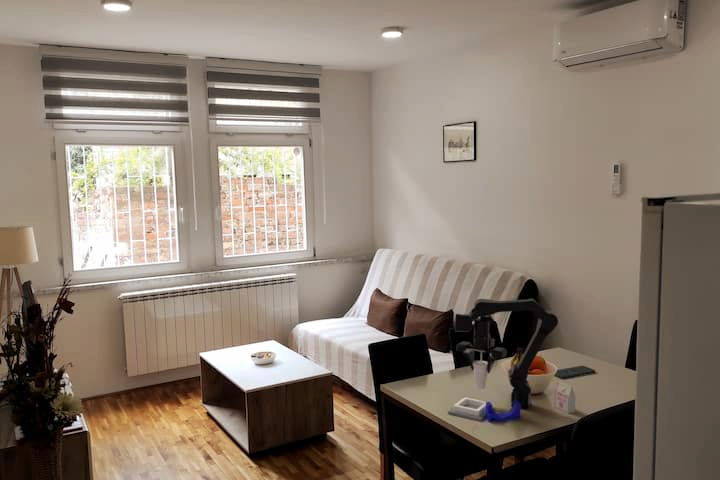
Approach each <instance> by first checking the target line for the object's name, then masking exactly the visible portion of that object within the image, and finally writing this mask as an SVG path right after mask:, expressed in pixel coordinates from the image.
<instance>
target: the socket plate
mask: <svg viewBox="0 0 720 480" xmlns="http://www.w3.org/2000/svg"><path fill="white" fill-rule="evenodd" d="M486 402H487V401H484V400H480V399H474V398H471V397H466V396H465V397H463V398H461V400H459V401H457V402H456V403H455V404H453V407H451V408H450V409H449V410H448V411H447V414H448V415H451V416H456V417H459V418H464V419H468V420H474V421H478V422H482V421H483V420H484V419H486ZM492 408H493V410H494V411H495V407H494V406H492Z"/></svg>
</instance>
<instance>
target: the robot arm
mask: <svg viewBox="0 0 720 480" xmlns="http://www.w3.org/2000/svg"><path fill="white" fill-rule="evenodd" d="M524 311H525V312H526V311H530V312H531V313H532V314H534V316H536V317H537V320H538V321H537V323H536V330H535V332H534V333H533V335H532V337H531V339H530V341H529V343H528V345H527V347H526V348H525V351H524V352H523V354H522V356H521V358H520V360H519V361H518V362H517V363H516V364H515V363H512V364H511V367H510V368H509V369H508V370H507V373H508V375H507V376H508V380H509V384H510V386H511V387H512V388H513V389H512V392H511V393H510V395H511V396H510V397H511V399H510V403H511V404H510V407H511V408H512V407H513V404H514V401H518V402H519V403H520V404H521V410H528V409H529V408H530V407H532V405H533V402H532V388H531V386H530V384H529V381H528V380H527V379H528V375H529V371H530V367H531V366H532V364H533V362H534V360H535V358H536V356H537V354H538V352H539V351H540V349H541V347H542V345H543V343H544V342H545V340H546V338H547V337H548V335H550V334H551V333H552V332H553V331H554V329H555V328H556V327H557V325H558V324H559V319H558V316H556V315H555V313H554V312H553V311H552V310H549V309H545V308H544V307H543V306H542V305H540V303H537V301H536V300H535V298H528V299H512V300H492V299H487V298H478V299H477V300H476V301H475V302H474V304H473V308H472V309H471V311H470V312H469V313H468V314H467V313H466V314H465V313H464V314H460V313H455V316H454V317H455V320H454V332H458V333H459V332H462V333H463V332H464V333H465V332H466V333H470V331H471V330H473V335H472V339H473V344H472V343H471V342H469V341H464V340H463V341H461V342H459V343H457V344H456V347H455V348H456V350H455V351H456V352H461V353H462V355H464V357H465V359H466V360H467V362H468V364H469V366H470V369H471V371H474V366H473V362H474V361H475V353H476V352H478V353H481V352H482V354H484V353H485V354H489V356H488V357H487V359H486V360H487V361H486V362H487V370H488V372H487V374H490V373H491V371H492V367H493V366H494V363H495V361H496V360H497V359H499V360H502V359H504V358H505V357H506V356H507V353H508V352H507V351H508V350H507V349H506V348H503V347H499V346H497V347H496V346H495V341H496V339H495V338H493V337H491V336H492V335H491V333H490V323H493V322H495V318H494V317H493V316H492V315H495V314H497V313H498V314H499V313H506V312H507V313H508V312H509V313H510V312H524ZM473 324H474V325H473ZM492 347H493V348H492Z"/></svg>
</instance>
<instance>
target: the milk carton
mask: <svg viewBox="0 0 720 480" xmlns="http://www.w3.org/2000/svg"><path fill="white" fill-rule="evenodd" d="M553 406H554V407H553V408H555V409H556V410H559V411H560V412H561V411H562V412H564V413H565V414H573V413H575V412H576V395H575V392H574V388H573V386H571V385H570V384H567V383H564V382H561V381H557V384H556V387H555V390H554V405H553Z"/></svg>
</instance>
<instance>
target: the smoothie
mask: <svg viewBox="0 0 720 480" xmlns="http://www.w3.org/2000/svg"><path fill="white" fill-rule="evenodd" d="M473 366H474V370H473V373H474V384H475V385H474V386H475V389H480V390H482V389H485V388H486V384H487V377H488V370H487V361H486V360H483V352H480V360H474V362H473Z"/></svg>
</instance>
